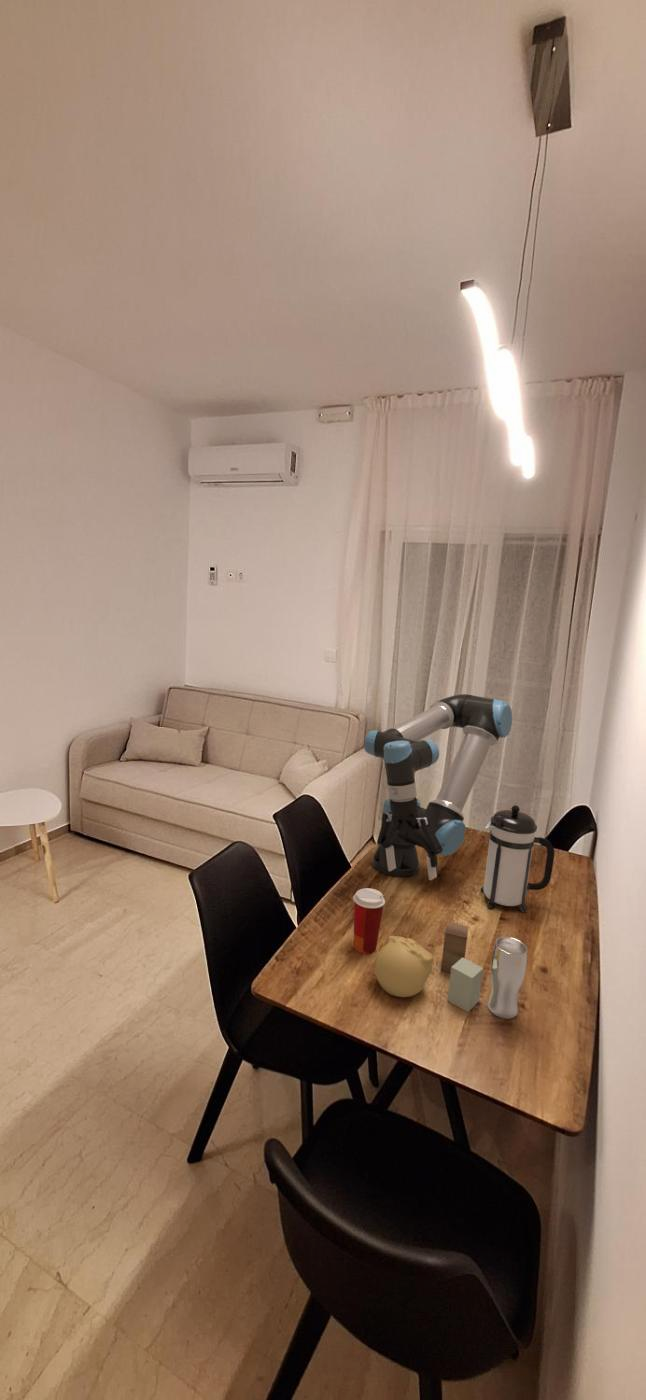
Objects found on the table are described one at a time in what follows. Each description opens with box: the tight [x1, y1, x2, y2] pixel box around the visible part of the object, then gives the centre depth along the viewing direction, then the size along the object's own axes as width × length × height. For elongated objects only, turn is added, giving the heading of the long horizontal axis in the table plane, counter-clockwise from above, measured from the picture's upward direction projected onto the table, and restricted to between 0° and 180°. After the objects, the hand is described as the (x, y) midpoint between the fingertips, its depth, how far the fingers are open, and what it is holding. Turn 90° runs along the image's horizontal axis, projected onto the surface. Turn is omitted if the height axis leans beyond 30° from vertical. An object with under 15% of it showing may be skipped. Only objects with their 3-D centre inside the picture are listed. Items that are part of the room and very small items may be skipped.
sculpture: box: [374, 935, 435, 998], centre depth 125 cm, size 12×12×11 cm
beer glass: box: [487, 936, 528, 1020], centre depth 120 cm, size 7×7×15 cm
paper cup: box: [352, 887, 386, 955], centre depth 139 cm, size 8×8×14 cm
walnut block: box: [440, 921, 469, 975], centre depth 133 cm, size 5×5×10 cm
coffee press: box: [480, 805, 555, 914], centre depth 165 cm, size 17×16×30 cm
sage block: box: [446, 957, 484, 1013], centre depth 123 cm, size 5×5×8 cm
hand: (411, 873), depth 155 cm, fingers open, 13 cm apart
